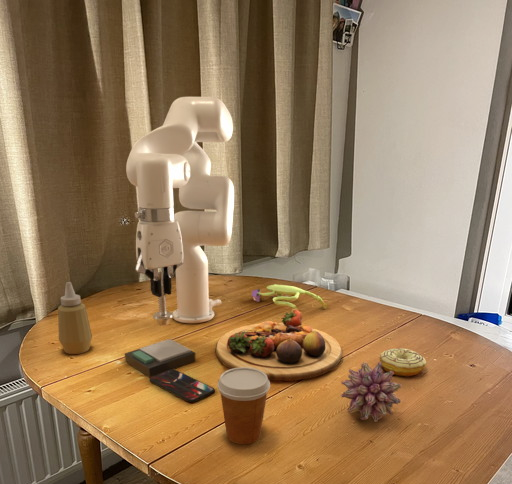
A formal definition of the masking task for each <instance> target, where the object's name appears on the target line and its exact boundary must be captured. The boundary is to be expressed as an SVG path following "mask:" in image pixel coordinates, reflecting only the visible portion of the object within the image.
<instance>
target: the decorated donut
mask: <svg viewBox="0 0 512 484" xmlns="http://www.w3.org/2000/svg"><path fill="white" fill-rule="evenodd" d="M379 362H381V363H382V364H381V368H383V370H385V371H386V372H390V371H393V372H394V374H393V375H395V376H399V377H410V376H411V377H412V376H417V375H418V374H420V373H422V371H423V370H424V368H426V366H427V361H426V359H425V357H424V356H423V355H422V354H420V353H418V352H417V351H415V350H412V349H409V348H404V347H403V348H401V347H399V348H389V349H386V350H383V352H381V353H380V355H379Z"/></svg>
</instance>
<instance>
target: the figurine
mask: <svg viewBox="0 0 512 484" xmlns="http://www.w3.org/2000/svg"><path fill="white" fill-rule="evenodd" d="M266 290H267V291H268V292H261V289H260V288H257V289H254V290H252V292H251V297H252V300H253V301H255V302H257V303H259V302H261V301H262V299H261V297H273V298H272V302H273V303H274V304H275V305H278V306H284V307H285V306H286V307H289V308H292V309H293V310H297V305H295V304H294V303H291V302H288V301H296V300H297V299H298V298H299V297H300V296H301V295H306V296H309V297H310V298H313V299H314V300H316V301H317V302H318V303H319V304H320V305H321V306H322V308H323V309H324V310H326V309H327V308H328V305H327V303H325V302H324V299H323V298H322V297H321V296H320V295H317V294H315V293H312V292H310V291H309V290H304V289H302V288H300V287H296V286H292V285H286V284H277V283H274V284H271V285H267V286H266ZM269 291H270V292H269Z"/></svg>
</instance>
